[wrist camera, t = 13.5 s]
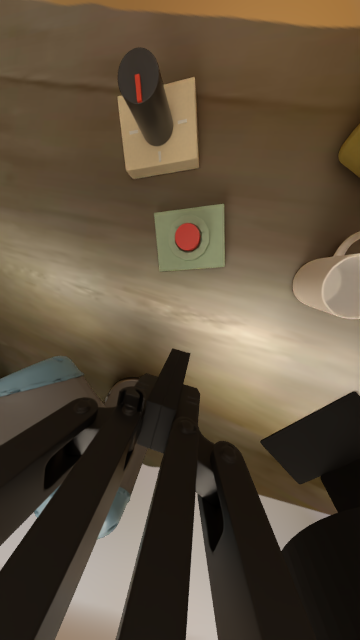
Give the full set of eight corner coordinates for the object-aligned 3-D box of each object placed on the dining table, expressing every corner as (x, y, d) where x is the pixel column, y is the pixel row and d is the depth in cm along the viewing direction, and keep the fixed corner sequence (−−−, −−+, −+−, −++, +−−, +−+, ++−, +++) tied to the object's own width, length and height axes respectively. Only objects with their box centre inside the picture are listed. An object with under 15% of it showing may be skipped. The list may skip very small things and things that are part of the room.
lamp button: (177, 252, 33) (175, 250, 31) (176, 226, 32) (173, 224, 30) (200, 249, 32) (200, 248, 30) (199, 224, 31) (199, 221, 29)
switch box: (162, 271, 38) (156, 271, 34) (157, 216, 35) (150, 209, 31) (224, 266, 36) (225, 266, 32) (223, 207, 33) (224, 199, 29)
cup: (282, 297, 35) (309, 307, 25) (315, 229, 32) (360, 210, 22) (327, 312, 34) (372, 328, 25) (365, 244, 31) (435, 232, 21)
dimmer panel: (133, 179, 34) (125, 170, 31) (125, 112, 32) (116, 95, 29) (199, 168, 32) (197, 157, 29) (196, 95, 30) (194, 75, 27)
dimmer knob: (140, 110, 29) (113, 50, 21) (172, 103, 28) (156, 38, 20) (143, 149, 30) (119, 105, 22) (174, 143, 29) (160, 95, 22)
